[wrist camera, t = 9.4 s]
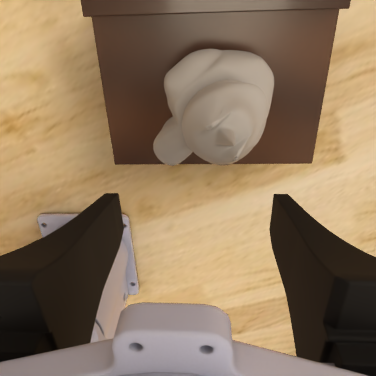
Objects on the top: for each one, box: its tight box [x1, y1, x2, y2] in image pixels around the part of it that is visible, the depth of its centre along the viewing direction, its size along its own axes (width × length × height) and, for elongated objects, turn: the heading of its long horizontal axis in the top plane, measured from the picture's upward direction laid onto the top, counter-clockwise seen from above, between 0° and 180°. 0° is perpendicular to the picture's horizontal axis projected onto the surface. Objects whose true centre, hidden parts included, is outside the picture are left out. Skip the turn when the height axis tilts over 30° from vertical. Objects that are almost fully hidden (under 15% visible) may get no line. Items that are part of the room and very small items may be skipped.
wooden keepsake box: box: [81, 0, 351, 164], centre depth 19 cm, size 9×12×6 cm
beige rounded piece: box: [153, 49, 274, 166], centre depth 15 cm, size 5×7×8 cm
